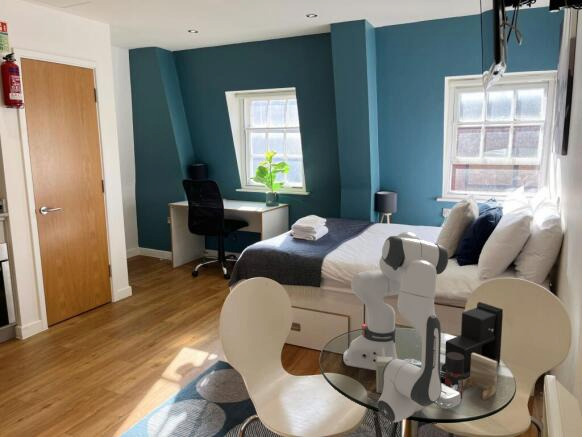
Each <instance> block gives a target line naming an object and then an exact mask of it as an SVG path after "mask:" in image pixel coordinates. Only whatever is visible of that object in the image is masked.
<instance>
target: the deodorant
mask: <svg viewBox="0 0 582 437" xmlns="http://www.w3.org/2000/svg"><path fill="white" fill-rule="evenodd" d="M463 373H464V356H463V355H462V354H460V353H456V352H449V353H447V354H446V371H445V378H444V379H445V380H444V385H446V386H448V387H450V388H451V384H453V383H454V384H456V385H458V389H457V390H456V391H458V392H460V395H461V400H462V399H463V390H464V389H463Z"/></svg>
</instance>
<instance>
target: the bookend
mask: <svg viewBox="0 0 582 437" xmlns="http://www.w3.org/2000/svg"><path fill="white" fill-rule="evenodd" d="M503 310H504V309H503V308H501V307H500V308H499V307H496V306H494V305H491V304H487V303H484V302H481V301H478V302H477V304H476V307H474V308H471V309H469V310H466V311H463V312H461V330H460V331H461V332H460V335H458V336H456V337H453V338H450V339H448V340H446V341H445V349H444V350H445V358H444V363H443V364H442V365H441V370H442V369H443V370H442V371H444V370H445V372H446V354H447V353H449V352H456V353H460V354H462V355H463V356H464V373H463V380H465V379H466V378H468V377H470V369H471V354H472V353H476V354H479V355H481V356H484V357H487V358H489V359H492V360H494V361H497V362H498V364H497V365H499V364H500V363H501V352H502V351H501V350H502V349H501V348H502V337H503V336H502V334H503V317H504V314H503V313H504V312H503Z"/></svg>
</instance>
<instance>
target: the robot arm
mask: <svg viewBox="0 0 582 437" xmlns="http://www.w3.org/2000/svg"><path fill="white" fill-rule="evenodd" d="M448 263H449V253H448V251H447V248H445V247H444V246H443V245H440V244H438V243H432V242H430V241H427V240H424V239H420V238H419V236H417V235H416V234H415V233H413V232H410V231H404V232H403V231H402V232H401V233H399V234H398V235H391V236H389V237H387V238H386V239H385V241H384V244H383V245H382V248H381V257H380V258H379V264H378V265H379V269H378V268H377V269H368V270H364V271H361V272H357V273H355V274H354V275H353V276H352V277H351V283H350V287H351V291H352V293H353V294H354V295H355V296H356V297H357V298H359V299H360V300H361V302H363V304H364V306H365V308H366V317H367V325H366V324H365V323H363V324H362V325H361V329H362V330H361V331H362V332H361V333H362V334H361V335H359V336H358V337H356V338H355V339H352V341H351V342H350V344H349V347H348V348H347V349H346V350H345V351H344V353H343V356H342V357H343V358H342V359H343V362H344V364H345V365H346V366H348V367H354V368H360V369H366V370H371V371H376V356H384V357H393V359H392V360H391V361H389V362H388V363H387V364H386V366H385V367H384V369H383V372H382V379H383V385H384V387H383V392H382V393H381V395H380V397H379V398H378V400H377V409H378V411H379V413H380V414H381V416H382V417H383V418H384V419H385V420H387V422H391V423H398V422H401V421H404V420H406V419H408V418H410V417H411V416H413V415H414V413H416V412H420V411H422V410H423V409H426V408H427V407H428V406H430V405H433V404H435V405H436V406H438V407H440V408H443V409H451V408H453V407H455V406H458V405H460V403H461V400H462V399H461V395H460V392H458V391H456V390H457V389H458V385H456V384H454V383H453V384H451V388H450V387H448V386H446V385H445V383H444V384H443V383H442V378H441V349H442V348H441V342H442V340H441V338H442V337H441V335H442V334H441V333H442V332H441V331H442V330H441V322H440V320H439V318H438V317H437V315H436V311H435V298H436V293H437V279H438V278H437V275H441V274H443V273H444V271H445V270H446V269H447V267H448ZM396 295H397V301H396V302H397V303H396V304H397V305H396V306H397V310H398V313H399V314H400V316H401V317H402V319H403V320H405V322H406V323H408V324H409V325H410V326H411V327H412V328H413V329H414V330H415V331H416V332H417V333H418V335H419V338H420V340H421V358H420V360H421V364H420V366H418V365H415V364H412V363H410V362H408V361H405V360H403V359H401V358H398V355H397V349H396V342H397V329H396V312H395V309H394V308H393V306H392V305H391V304H388V303H385V302H384V297H389V296H396Z"/></svg>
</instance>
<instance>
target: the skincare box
mask: <svg viewBox="0 0 582 437" xmlns="http://www.w3.org/2000/svg"><path fill="white" fill-rule="evenodd" d="M392 359H393V357H384V356H376V370H375V377H376V378H375V379H376V380H375V381H376V382H375V384H376V385H375V386H376V393H379V394H382V392H383V387H384V385H383V379H382V372H383V369H384V367H385V366H386V364H387V363H388V362H389V361H391V360H392Z"/></svg>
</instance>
